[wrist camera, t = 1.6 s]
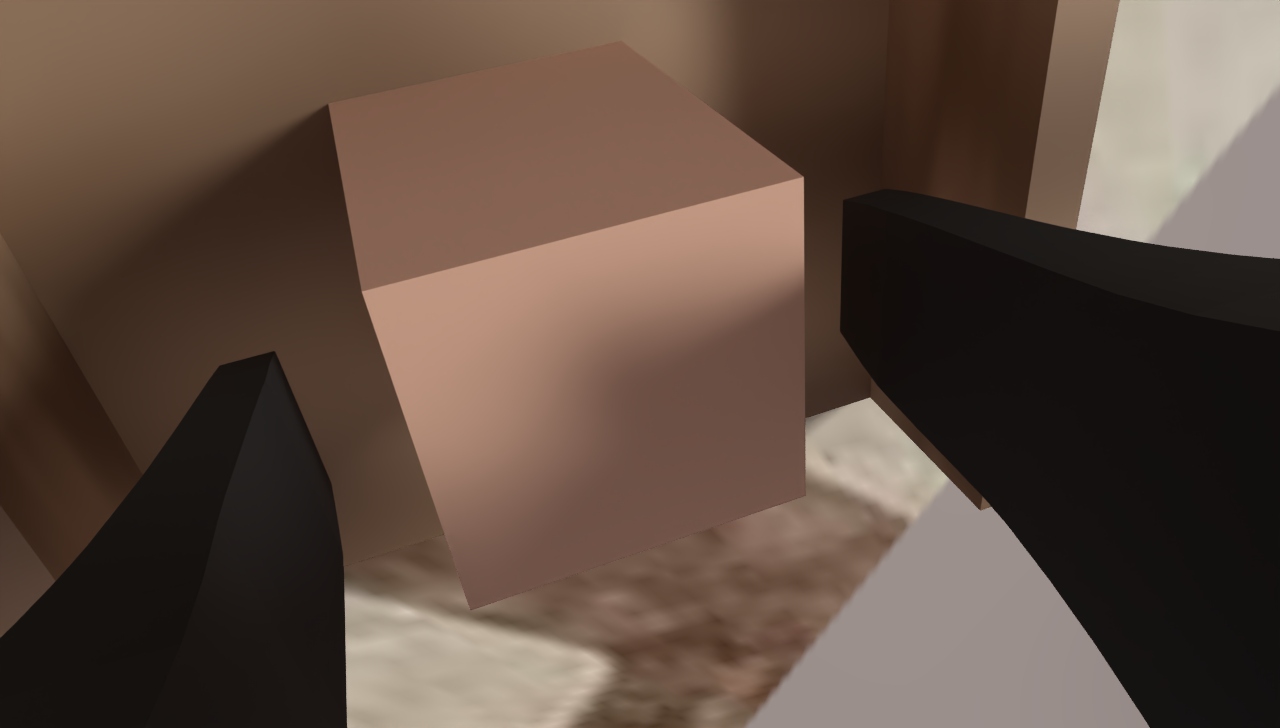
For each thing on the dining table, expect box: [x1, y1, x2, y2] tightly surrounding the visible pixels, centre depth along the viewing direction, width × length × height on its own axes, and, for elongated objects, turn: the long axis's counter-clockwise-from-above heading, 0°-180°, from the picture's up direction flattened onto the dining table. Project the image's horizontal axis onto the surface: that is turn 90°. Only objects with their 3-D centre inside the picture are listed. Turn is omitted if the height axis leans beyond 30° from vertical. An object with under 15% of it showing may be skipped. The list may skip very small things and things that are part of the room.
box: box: [0, 0, 1120, 638], centre depth 13 cm, size 14×16×4 cm
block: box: [328, 41, 806, 610], centre depth 12 cm, size 4×4×6 cm
